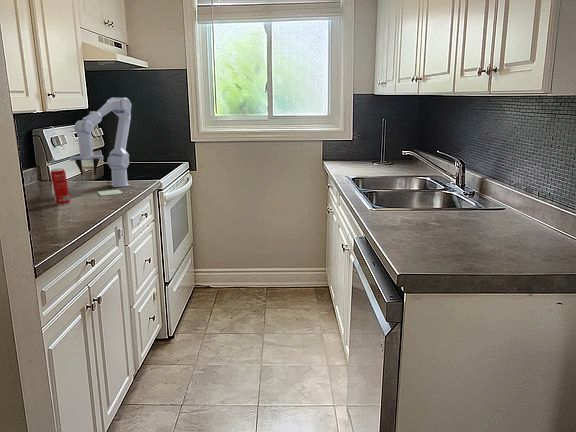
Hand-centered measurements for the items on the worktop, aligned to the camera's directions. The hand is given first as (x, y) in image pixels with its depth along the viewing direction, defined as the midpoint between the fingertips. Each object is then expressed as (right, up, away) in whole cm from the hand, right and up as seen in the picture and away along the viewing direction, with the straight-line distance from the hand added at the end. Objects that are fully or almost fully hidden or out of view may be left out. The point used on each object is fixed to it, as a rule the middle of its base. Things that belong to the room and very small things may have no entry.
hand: (88, 175), depth 235 cm
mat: (+10, -8, 0) cm, 13 cm away
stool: (0, -2, 0) cm, 2 cm away
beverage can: (-3, -14, -21) cm, 25 cm away
